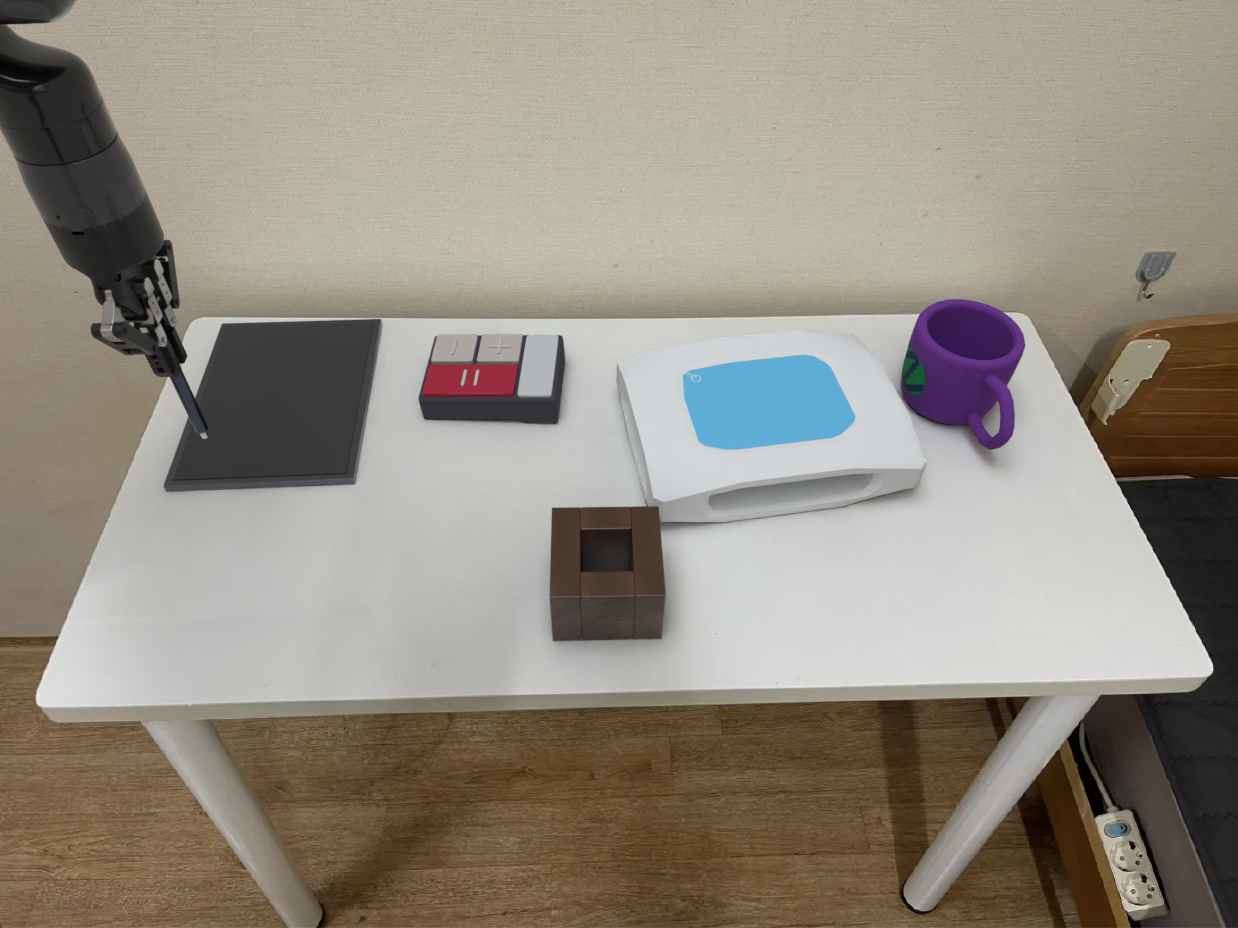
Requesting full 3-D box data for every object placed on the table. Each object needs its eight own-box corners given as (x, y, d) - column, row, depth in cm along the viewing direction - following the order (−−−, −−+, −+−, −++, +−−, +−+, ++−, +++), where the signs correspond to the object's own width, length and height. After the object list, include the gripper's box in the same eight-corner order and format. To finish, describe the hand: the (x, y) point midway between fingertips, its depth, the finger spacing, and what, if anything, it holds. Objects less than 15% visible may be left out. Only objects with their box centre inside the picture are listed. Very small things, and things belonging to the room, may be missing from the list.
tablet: (354, 484, 92) (352, 478, 91) (165, 491, 90) (162, 485, 90) (382, 323, 109) (380, 317, 108) (223, 328, 108) (221, 322, 107)
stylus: (200, 442, 87) (146, 330, 76) (198, 434, 87) (144, 322, 77) (213, 438, 87) (161, 326, 77) (210, 430, 88) (158, 318, 77)
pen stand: (552, 641, 80) (549, 597, 74) (554, 552, 86) (551, 507, 81) (661, 639, 80) (665, 595, 75) (655, 551, 87) (658, 505, 81)
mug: (878, 370, 105) (900, 302, 97) (967, 359, 106) (995, 291, 99) (941, 480, 93) (971, 412, 86) (1040, 466, 95) (1077, 398, 88)
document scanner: (917, 497, 92) (934, 456, 87) (652, 532, 88) (655, 492, 83) (846, 363, 106) (858, 321, 101) (615, 389, 102) (616, 347, 97)
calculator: (433, 329, 103) (562, 329, 102) (440, 357, 106) (565, 357, 105) (415, 395, 95) (554, 395, 95) (423, 423, 98) (558, 423, 98)
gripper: (74, 152, 72) (154, 321, 85) (3, 248, 63) (104, 421, 76) (168, 152, 72) (233, 320, 85) (111, 248, 63) (193, 420, 76)
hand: (172, 367), depth 81 cm, fingers closed on stylus, 1 cm apart
